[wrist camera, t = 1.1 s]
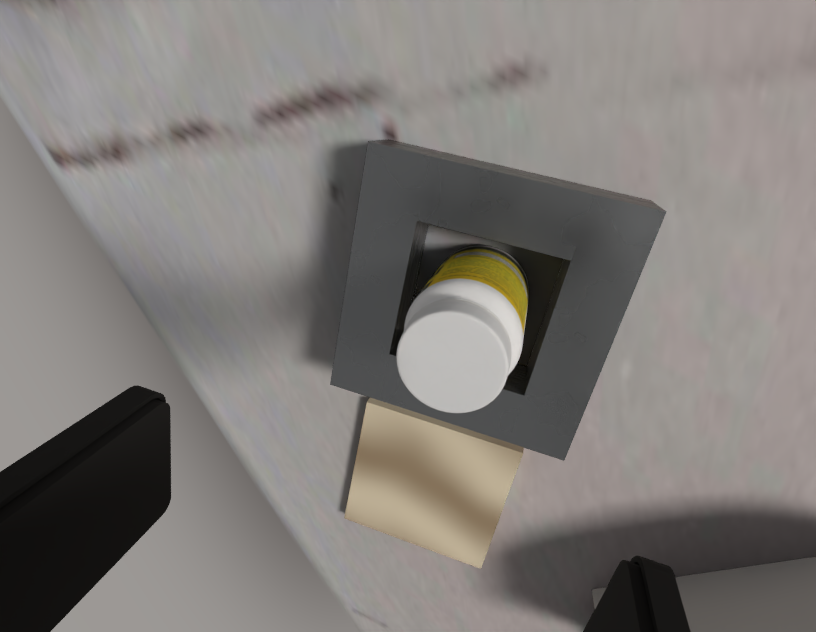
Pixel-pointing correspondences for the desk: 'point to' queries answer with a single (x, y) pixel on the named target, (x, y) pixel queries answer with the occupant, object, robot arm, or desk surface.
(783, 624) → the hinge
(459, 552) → the pad
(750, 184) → the desk surface
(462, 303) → the supplement bottle
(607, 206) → the socket block
